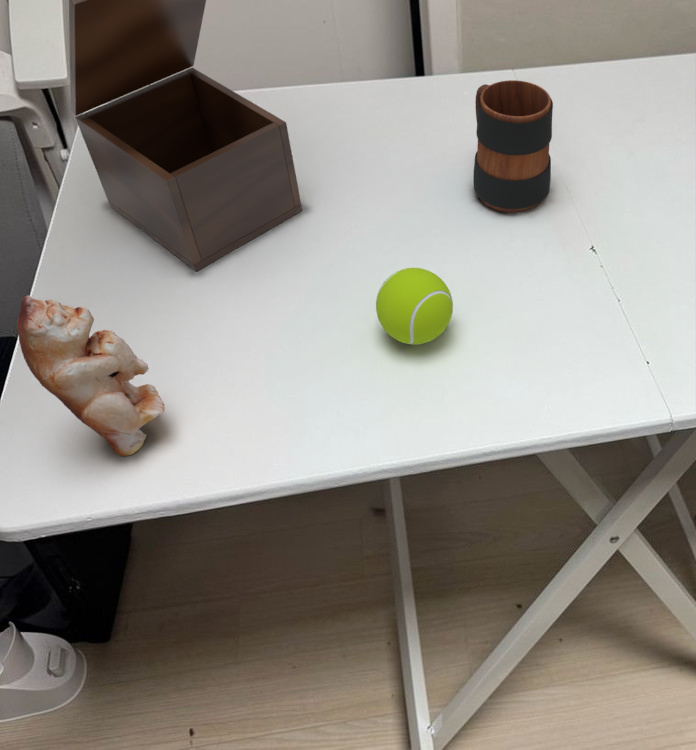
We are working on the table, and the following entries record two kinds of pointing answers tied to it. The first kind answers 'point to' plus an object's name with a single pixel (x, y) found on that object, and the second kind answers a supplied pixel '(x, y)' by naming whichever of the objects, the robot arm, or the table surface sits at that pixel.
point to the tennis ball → (414, 306)
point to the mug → (513, 145)
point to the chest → (193, 165)
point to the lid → (128, 46)
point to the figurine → (88, 371)
